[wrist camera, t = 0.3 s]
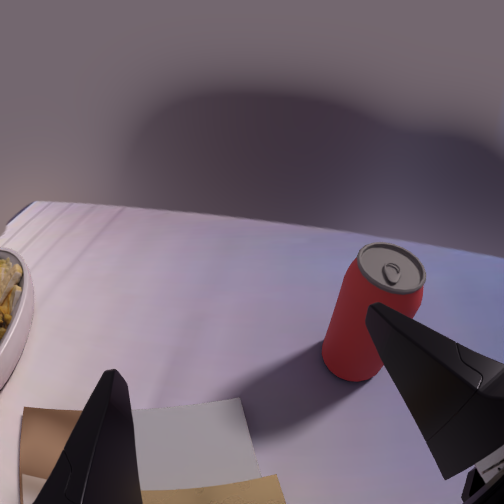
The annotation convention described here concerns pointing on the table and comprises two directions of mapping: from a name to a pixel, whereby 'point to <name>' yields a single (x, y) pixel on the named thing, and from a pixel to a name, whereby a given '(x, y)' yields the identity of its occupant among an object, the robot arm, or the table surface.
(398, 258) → the beer can
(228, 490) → the swing bar
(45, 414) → the door board
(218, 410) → the board
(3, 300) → the bowl
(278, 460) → the table surface
